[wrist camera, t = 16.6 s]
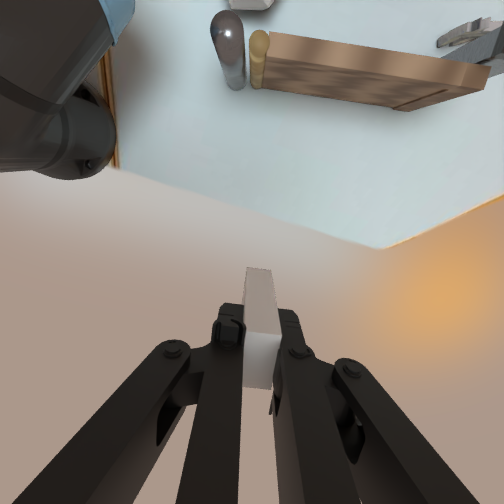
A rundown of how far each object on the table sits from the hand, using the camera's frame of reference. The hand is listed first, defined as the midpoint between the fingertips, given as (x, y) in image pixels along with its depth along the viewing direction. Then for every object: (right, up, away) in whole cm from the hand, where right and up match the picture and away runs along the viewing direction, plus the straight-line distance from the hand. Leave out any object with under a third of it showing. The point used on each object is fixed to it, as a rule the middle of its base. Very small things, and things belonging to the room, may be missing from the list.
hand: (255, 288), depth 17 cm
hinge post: (-3, +27, +23) cm, 36 cm away
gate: (+11, +25, +23) cm, 36 cm away
